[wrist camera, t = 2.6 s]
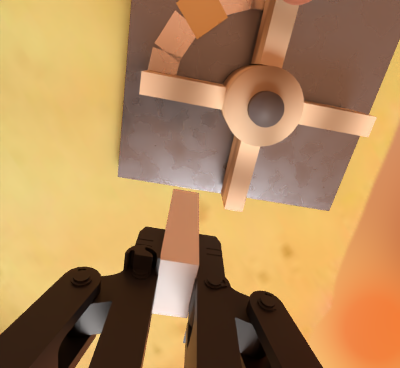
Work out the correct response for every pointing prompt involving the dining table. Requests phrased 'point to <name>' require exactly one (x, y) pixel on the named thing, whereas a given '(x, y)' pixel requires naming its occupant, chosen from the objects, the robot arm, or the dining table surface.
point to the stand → (239, 57)
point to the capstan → (258, 101)
